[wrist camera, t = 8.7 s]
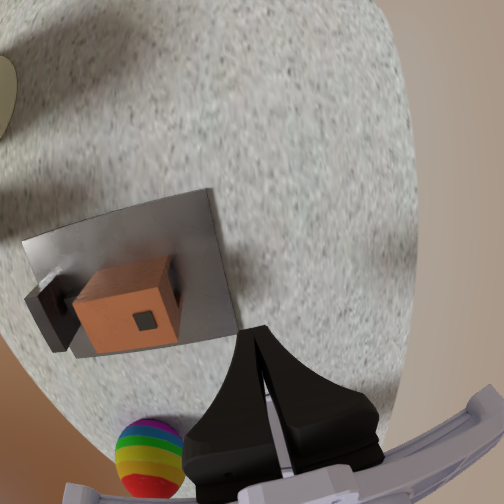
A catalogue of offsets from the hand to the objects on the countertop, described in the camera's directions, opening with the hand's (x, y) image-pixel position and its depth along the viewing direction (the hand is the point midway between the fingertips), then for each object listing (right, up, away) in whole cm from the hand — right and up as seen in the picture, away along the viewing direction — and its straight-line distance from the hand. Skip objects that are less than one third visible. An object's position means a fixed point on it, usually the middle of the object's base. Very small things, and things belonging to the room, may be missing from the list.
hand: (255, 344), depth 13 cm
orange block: (-9, +2, +8) cm, 12 cm away
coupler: (-10, +1, +8) cm, 13 cm away
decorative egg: (-12, -17, +15) cm, 25 cm away
